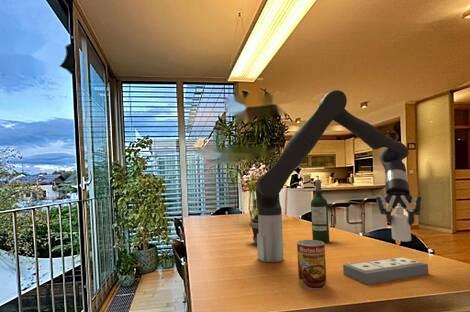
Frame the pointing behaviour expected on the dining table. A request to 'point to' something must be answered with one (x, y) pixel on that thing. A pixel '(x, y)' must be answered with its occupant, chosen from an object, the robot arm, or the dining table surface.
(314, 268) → the canned food
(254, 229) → the flowerpot
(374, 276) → the tile board
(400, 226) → the eye dropper bottle
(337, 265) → the dining table surface
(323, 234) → the wine bottle
